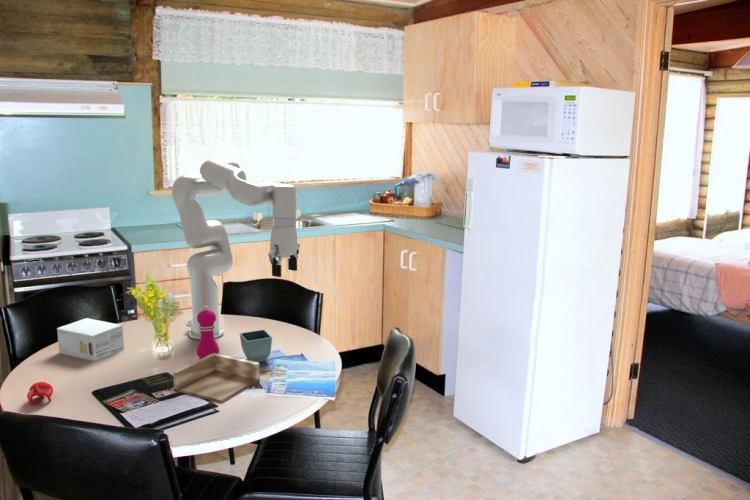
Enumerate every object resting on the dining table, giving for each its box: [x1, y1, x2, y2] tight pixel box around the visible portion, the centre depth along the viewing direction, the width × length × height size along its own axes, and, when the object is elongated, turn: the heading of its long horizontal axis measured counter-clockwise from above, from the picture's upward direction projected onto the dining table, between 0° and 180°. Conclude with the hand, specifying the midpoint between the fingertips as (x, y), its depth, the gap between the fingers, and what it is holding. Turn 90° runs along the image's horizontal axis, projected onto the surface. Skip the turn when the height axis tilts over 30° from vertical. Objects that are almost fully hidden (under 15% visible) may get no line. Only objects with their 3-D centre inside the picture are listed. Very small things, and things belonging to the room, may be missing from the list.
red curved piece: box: [26, 381, 54, 405], centre depth 178 cm, size 8×6×6 cm
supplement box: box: [56, 317, 125, 362], centre depth 216 cm, size 17×13×9 cm
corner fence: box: [172, 353, 261, 389], centre depth 190 cm, size 18×18×5 cm
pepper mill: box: [196, 306, 220, 360], centre depth 206 cm, size 7×7×20 cm
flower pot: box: [239, 329, 273, 363], centre depth 210 cm, size 9×9×9 cm
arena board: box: [173, 370, 261, 404], centre depth 191 cm, size 18×18×1 cm
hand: (284, 273), depth 208 cm, fingers open, 9 cm apart
